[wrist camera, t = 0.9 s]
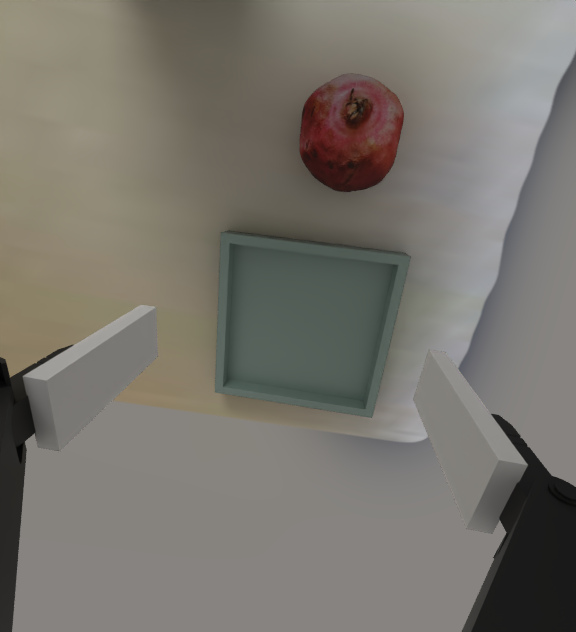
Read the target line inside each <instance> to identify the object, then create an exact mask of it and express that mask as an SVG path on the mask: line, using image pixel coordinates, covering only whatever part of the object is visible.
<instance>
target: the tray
mask: <svg viewBox="0 0 576 632" xmlns="http://www.w3.org/2000/svg"><path fill="white" fill-rule="evenodd" d="M410 258H411V257H410V256H409V255H407V254H406V253H401V252H393V251H385V250H377V249H369V248H361V247H353V246H345V245H337V244H329V243H322V242H314V241H306V240H298V239H290V238H282V237H274V236H266V235H258V234H250V233H242V232H234V231H225V232H221V241H220V269H219V296H218V323H217V350H216V377H215V392H216V393H223V394H229V395H235V396H241V397H247V398H253V399H259V400H266V401H272V402H278V403H284V404H290V405H296V406H303V407H309V408H315V409H321V410H327V411H333V412H340V413H346V414H352V415H358V416H364V417H370V418H372V416H373V412H374V408H375V404H376V400H377V395H378V391H379V387H380V383H381V379H382V375H383V370H384V366H385V362H386V358H387V354H388V350H389V345H390V341H391V337H392V333H393V329H394V325H395V320H396V316H397V312H398V308H399V304H400V300H401V295H402V291H403V287H404V283H405V279H406V275H407V270H408V266H409V262H410Z"/></svg>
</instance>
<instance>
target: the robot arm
mask: <svg viewBox="0 0 576 632" xmlns="http://www.w3.org/2000/svg"><path fill="white" fill-rule="evenodd" d="M157 357H158V347H157V318H156V307H153V306H146V305H140V306H138V307H136V308H135V309H133V310H131V311H130V312H128V313H127V314H125V315H123V316H122V317H120V318H118V319H117V320H115V321H113V322H112V323H110V324H108V325H107V326H105V327H103V328H102V329H100V330H98V331H97V332H95V333H93V334H92V335H90V336H88V337H87V338H85V339H83V340H82V341H80V342H79V343H77V344H75V345H70V346H68V347H65V348H62V349H59V350H57V351H55V352H53V353H52V354H50V355H48V356H47V357H46V358H43V359H41V360H40V361H38V362H37V363H34V364H33V365H31V366H29V367H28V368H26V369H24V370H22V371H21V372H19V373H17V374H16V375H14V376H12V377H10V376H9V372H8V368H7V364H6V361H5V359H3V358H1V357H0V632H12V625H13V612H14V600H15V587H16V574H17V562H18V550H19V538H20V525H21V512H22V500H23V487H24V476H25V463H26V451H27V450H26V445H25V441H26V440H27V439H28V438H29V437H31V436H32V435H33V434H34V433H35V436H36V441H37V446H38V447H39V448H44V449H49V450H54V451H61V450H62V449H63V448H64V447H65V446H66V445H67V444H68V443H69V442H70V441H71V440H72V439H73V438H74V437H75V436H76V435H77V434H78V433H79V432H80V431H81V430H82V429H83V428H84V427H85V426H86V425H87V424H88V423H90V421H92V420H93V418H94V417H96V416H97V415H98V414H99V413H100V412H101V411H102V410H103V409H104V408H105V407H106V406H107V405H108V404H109V403H110V402H111V401H112V400H113V399H114V398H115V397H116V396H118V395H119V394H120V393H121V392H122V391H123V390H124V389H125V388H126V387H127V386H128V385H129V384H130V383H131V382H132V381H133V380H134V379H135V378H136V377H137V376H138V375H139V374H140V373H141V372H142V371H143V370H144V369H145V368H146V367H147V366H149V365H150V364H151V363H152V362H153V361H154V360H155V359H156V358H157ZM413 400H414V402H415V405H416V407H417V409H418V412H419V414H420V417H421V419H422V422H423V424H424V427H425V429H426V431H427V434H428V436H429V439H430V441H431V444H432V446H433V448H434V451H435V453H436V456H437V458H438V460H439V463H440V466H441V468H442V470H443V473H444V475H445V478H446V480H447V483H448V485H449V487H450V490H451V492H452V495H453V497H454V500H455V502H456V505H457V507H458V509H459V512H460V514H461V517H462V519H463V522H464V524H465V527H466V529H470V530H475V531H480V532H485V533H491V534H492V533H493V531H494V529H495V528H496V525H497V524H498V522H499V520H500V521H501V523H502V525H503V527H504V529H505V530H506V532H507V533H506V535H505V537H504V539H503V541H502V542H501V544H500V546H499V548H498V550H497V552H496V553H495V555H494V557H493V558H494V561H493V563H492V565H491V567H490V570H489V572H488V574H487V576H486V578H485V581H484V583H483V585H482V588H481V590H480V592H479V594H478V596H477V599H476V601H475V603H474V605H473V608H472V610H471V612H470V614H469V616H468V619H467V621H466V623H465V626H464V628H463V630H462V632H576V487H574V486H573V485H571V484H570V483H568V482H566V481H564V480H562V479H559V478H557V477H553V476H551V474H550V473H549V472H548V471H547V469H546V468H545V467H544V465H543V464H542V463H541V462H540V460H539V459H538V458H537V457H536V455H535V454H534V453H533V451H532V450H531V449H530V448H529V447H527V444H526V443H525V441H524V440H523V439H522V438H520V435H519V434H518V432H517V431H516V430H515V429H514V428H513V426H512V425H511V424H510V423H508V422H507V421H505V420H504V419H503V418H502V417H501V416H499V415H495V414H490V412H489V411H488V410H487V408H486V407H485V406H484V404H483V403H482V402H481V400H480V399H479V397H478V396H477V395H476V393H475V392H474V391H473V389H472V388H471V387H470V385H469V384H468V382H467V381H466V380H465V378H464V377H463V375H462V374H461V373H460V371H459V370H458V369H457V367H456V366H455V364H454V363H453V362H452V360H451V359H450V358H449V356H448V355H447V354H446V352H440V351H434V350H429V351H428V354H427V357H426V360H425V363H424V367H423V370H422V373H421V376H420V379H419V382H418V386H417V389H416V392H415V395H414V398H413Z"/></svg>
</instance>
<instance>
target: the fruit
mask: <svg viewBox="0 0 576 632" xmlns="http://www.w3.org/2000/svg"><path fill="white" fill-rule="evenodd" d="M403 119H404V112H403V108H402V106H401V103H400V101H399V99H398V97H397V96H396V95H395V94H394V93H393V92H391V91H390V90H389V89H388V88H387V87H385V86H384V85H383V84H382V83H380V82H379V81H377V80H375V79H373V78H370V77H367V76H363V75H359V74H353V73H352V74H343V75H341V76H339V77H337V78H335V79H333V80H331V81H329V82H327V83H325V84H324V85H322V86H321V87H319V88H318V89H317V90H316V91H315V92H314V93H313V94H312V95H311V96H310V97H309V98H308V100H307V101H306V103H305V105H304V109H303V112H302V124H301V133H300V155H301V158H302V160H303V162H304V164H305V165H306V167H307V168H308V170H309V171H310V172H311V174H312V175H313V176H314V177H315V178H316V179H317V180H318V181H320V182H321V183H323V184H324V185H326V186H328V187H330V188H332V189H333V190H336V191H341V192H351V191H357V190H363V189H367V188H369V187H372V186H375V185H377V184H378V183H380V182H381V181H382V180H383V178H384V177H385V176H386V174H387V173H388V172H389V170H390V169H391V167H392V165H393V163H394V160H395V157H396V152H397V147H398V143H399V139H400V134H401V129H402V125H403Z"/></svg>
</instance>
